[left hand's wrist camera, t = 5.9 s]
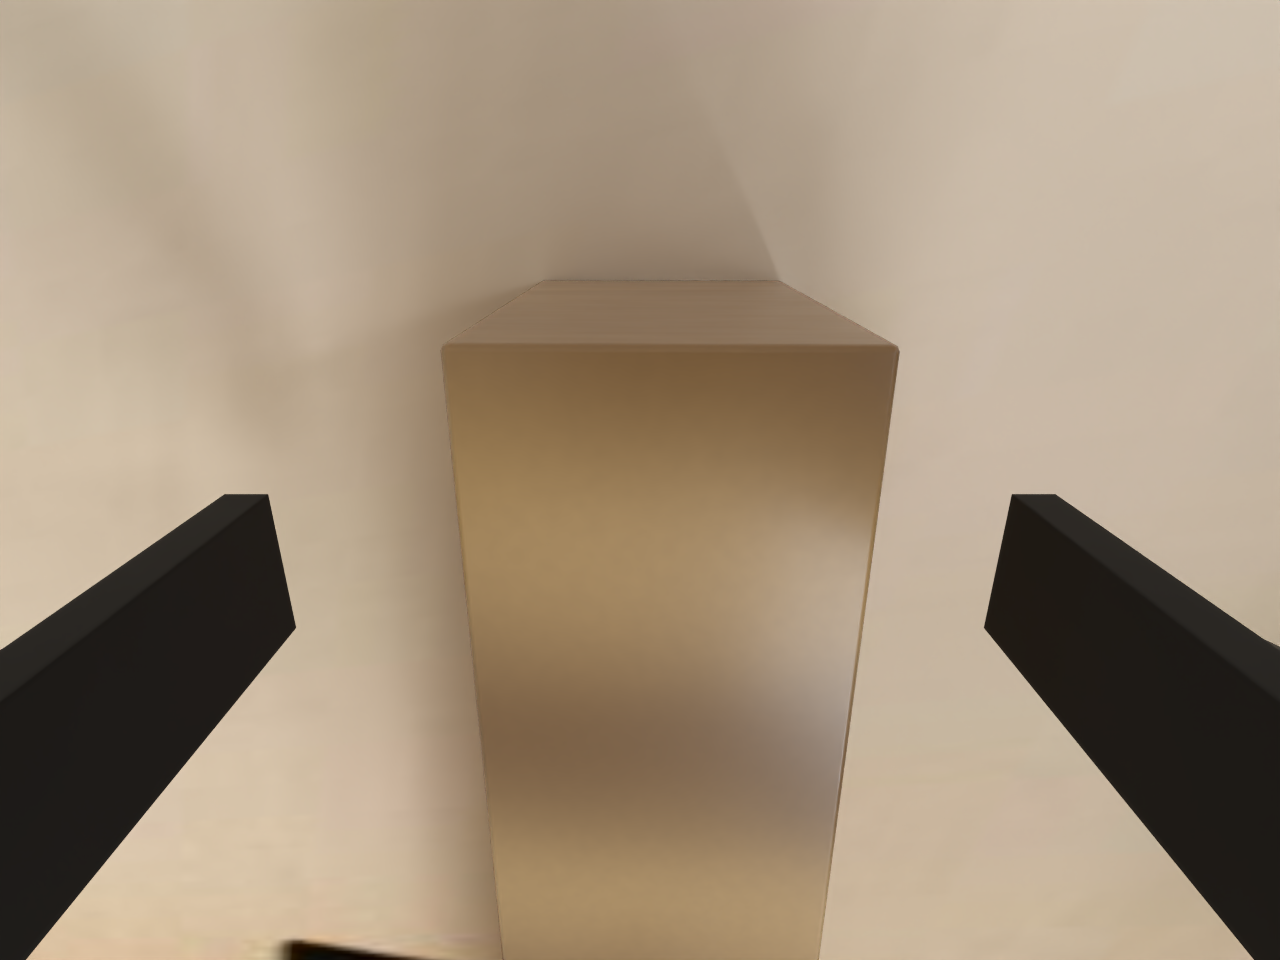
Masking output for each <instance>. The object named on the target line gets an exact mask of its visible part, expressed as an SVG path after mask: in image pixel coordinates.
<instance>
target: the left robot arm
mask: <svg viewBox="0 0 1280 960" xmlns="http://www.w3.org/2000/svg"><path fill="white" fill-rule="evenodd" d="M295 628H296V625H295V621H294V616H293V611H292V606H291V601H290V597H289V592H288V587H287V582H286V578H285V573H284V568H283V563H282V559H281V554H280V549H279V544H278V539H277V535H276V530H275V525H274V520H273V516H272V511H271V506H270V501H269V497H268V494H224V495H223V496H222V497H220V498H219V499H217V500H216V501H214V502H213V503H211V504H210V505H209V506H207V507H206V508H204V509H203V510H201V511H200V512H199V513H197V514H196V515H194V516H193V517H191V518H190V519H188V520H187V521H186V522H184V523H183V524H181V525H180V526H178V527H177V528H176V529H174V530H173V531H171V532H170V533H168V534H167V535H165V536H164V537H163V538H161V539H160V540H158V541H157V542H155V543H154V544H153V545H151V546H150V547H148V548H147V549H145V550H144V551H142V552H141V553H140V554H138V555H137V556H135V557H134V558H132V559H131V560H130V561H128V562H127V563H125V564H124V565H122V566H121V567H120V568H118V569H117V570H115V571H114V572H112V573H111V574H109V575H108V576H107V577H105V578H104V579H102V580H101V581H99V582H98V583H97V584H95V585H94V586H92V587H91V588H89V589H88V590H86V591H85V592H84V593H82V594H81V595H79V596H78V597H76V598H75V599H74V600H72V601H71V602H69V603H68V604H66V605H65V606H63V607H62V608H61V609H59V610H58V611H56V612H55V613H53V614H52V615H51V616H49V617H48V618H46V619H45V620H43V621H42V622H40V623H39V624H38V625H36V626H35V627H33V628H32V629H30V630H29V631H28V632H26V633H25V634H23V635H22V636H20V637H19V638H17V639H16V640H15V641H13V642H12V643H10V644H9V645H7V646H6V647H5V648H3V649H1V650H0V960H26V959H27V958H28V956H29V955H30V954H31V953H32V952H33V950H34V949H35V948H36V947H37V945H38V944H39V943H40V942H41V940H42V939H43V938H44V937H45V936H46V934H47V933H48V932H49V931H50V929H51V928H52V927H53V926H54V924H55V923H56V922H57V921H58V920H59V918H60V917H61V916H62V915H63V913H64V912H65V911H66V910H67V909H68V907H69V906H70V905H71V904H72V902H73V901H74V900H75V899H76V897H77V896H78V895H79V894H80V893H81V891H82V890H83V889H84V888H85V886H86V885H87V884H88V883H89V881H90V880H91V879H92V878H93V877H94V875H95V874H96V873H97V872H98V870H99V869H100V868H101V867H102V866H103V864H104V863H105V862H106V861H107V859H108V858H109V857H110V856H111V854H112V853H113V852H114V851H115V850H116V848H117V847H118V846H119V845H120V843H121V842H122V841H123V840H124V839H125V837H126V836H127V835H128V834H129V832H130V831H131V830H132V829H133V827H134V826H135V825H136V824H137V823H138V821H139V820H140V819H141V818H142V816H143V815H144V814H145V813H146V811H147V810H148V809H149V808H150V807H151V805H152V804H153V803H154V802H155V800H156V799H157V798H158V797H159V796H160V794H161V793H162V792H163V791H164V789H165V788H166V787H167V786H168V784H169V783H170V782H171V781H172V780H173V778H174V777H175V776H176V775H177V773H178V772H179V771H180V770H181V768H182V767H183V766H184V765H185V764H186V762H187V761H188V760H189V759H190V757H191V756H192V755H193V754H194V753H195V751H196V750H197V749H198V748H199V746H200V745H201V744H202V743H203V741H204V740H205V739H206V738H207V737H208V735H209V734H210V733H211V732H212V730H213V729H214V728H215V727H216V725H217V724H218V723H219V722H220V721H221V719H222V718H223V717H224V716H225V714H226V713H227V712H228V711H229V710H230V708H231V707H232V706H233V705H234V703H235V702H236V701H237V700H238V698H239V697H240V696H241V695H242V694H243V692H244V691H245V690H246V689H247V687H248V686H249V685H250V684H251V682H252V681H253V680H254V679H255V678H256V676H257V675H258V674H259V673H260V671H261V670H262V669H263V668H264V667H265V665H266V664H267V663H268V662H269V660H270V659H271V658H272V657H273V655H274V654H275V653H276V652H277V651H278V649H279V648H280V647H281V646H282V644H283V643H284V642H285V641H286V640H287V638H288V637H289V636H290V635H291V633H292V632H293V631H294V630H295ZM984 628H985V630H986V631H987V632H988V633H989V635H990V636H991V637H992V638H993V640H994V641H995V642H996V643H997V644H998V646H999V647H1000V648H1001V649H1002V651H1003V652H1004V653H1005V654H1006V655H1007V657H1008V658H1009V659H1010V660H1011V662H1012V663H1013V664H1014V665H1015V667H1016V668H1017V669H1018V670H1019V671H1020V673H1021V674H1022V675H1023V676H1024V678H1025V679H1026V680H1027V681H1028V683H1029V684H1030V685H1031V686H1032V687H1033V689H1034V690H1035V691H1036V692H1037V694H1038V695H1039V696H1040V697H1041V698H1042V700H1043V701H1044V702H1045V703H1046V705H1047V706H1048V707H1049V708H1050V710H1051V711H1052V712H1053V713H1054V714H1055V716H1056V717H1057V718H1058V719H1059V721H1060V722H1061V723H1062V724H1063V725H1064V727H1065V728H1066V729H1067V730H1068V732H1069V733H1070V734H1071V735H1072V737H1073V738H1074V739H1075V740H1076V741H1077V743H1078V744H1079V745H1080V746H1081V748H1082V749H1083V750H1084V751H1085V753H1086V754H1087V755H1088V756H1089V757H1090V759H1091V760H1092V761H1093V762H1094V764H1095V765H1096V766H1097V767H1098V768H1099V770H1100V771H1101V772H1102V773H1103V775H1104V776H1105V777H1106V778H1107V780H1108V781H1109V782H1110V783H1111V784H1112V786H1113V787H1114V788H1115V789H1116V791H1117V792H1118V793H1119V794H1120V796H1121V797H1122V798H1123V799H1124V800H1125V802H1126V803H1127V804H1128V805H1129V807H1130V808H1131V809H1132V810H1133V811H1134V813H1135V814H1136V815H1137V816H1138V818H1139V819H1140V820H1141V821H1142V823H1143V824H1144V825H1145V826H1146V827H1147V829H1148V830H1149V831H1150V832H1151V834H1152V835H1153V836H1154V837H1155V839H1156V840H1157V841H1158V842H1159V843H1160V845H1161V846H1162V847H1163V848H1164V850H1165V851H1166V852H1167V853H1168V854H1169V856H1170V857H1171V858H1172V859H1173V861H1174V862H1175V863H1176V864H1177V866H1178V867H1179V868H1180V869H1181V870H1182V872H1183V873H1184V874H1185V875H1186V877H1187V878H1188V879H1189V880H1190V881H1191V883H1192V884H1193V885H1194V886H1195V888H1196V889H1197V890H1198V891H1199V893H1200V894H1201V895H1202V896H1203V897H1204V899H1205V900H1206V901H1207V902H1208V904H1209V905H1210V906H1211V907H1212V909H1213V910H1214V911H1215V912H1216V913H1217V915H1218V916H1219V917H1220V918H1221V920H1222V921H1223V922H1224V923H1225V924H1226V926H1227V927H1228V928H1229V929H1230V931H1231V932H1232V933H1233V934H1234V936H1235V937H1236V938H1237V939H1238V940H1239V942H1240V943H1241V944H1242V945H1243V947H1244V948H1245V949H1246V950H1247V952H1248V953H1249V954H1250V955H1251V956H1252V958H1253V959H1254V960H1280V647H1279V646H1277V645H1275V644H1273V643H1271V642H1269V641H1266V640H1264V639H1263V638H1261V637H1260V636H1258V635H1257V634H1255V633H1254V632H1252V631H1251V630H1250V629H1248V628H1247V627H1245V626H1244V625H1242V624H1241V623H1240V622H1238V621H1237V620H1235V619H1234V618H1232V617H1231V616H1229V615H1228V614H1227V613H1225V612H1224V611H1222V610H1221V609H1219V608H1218V607H1217V606H1215V605H1214V604H1212V603H1211V602H1209V601H1208V600H1206V599H1205V598H1204V597H1202V596H1201V595H1199V594H1198V593H1196V592H1195V591H1194V590H1192V589H1191V588H1189V587H1188V586H1186V585H1185V584H1183V583H1182V582H1181V581H1179V580H1178V579H1176V578H1175V577H1173V576H1172V575H1171V574H1169V573H1168V572H1166V571H1165V570H1163V569H1162V568H1160V567H1159V566H1158V565H1156V564H1155V563H1153V562H1152V561H1150V560H1149V559H1148V558H1146V557H1145V556H1143V555H1142V554H1140V553H1139V552H1138V551H1136V550H1135V549H1133V548H1132V547H1130V546H1129V545H1127V544H1126V543H1125V542H1123V541H1122V540H1120V539H1119V538H1117V537H1116V536H1115V535H1113V534H1112V533H1110V532H1109V531H1107V530H1106V529H1104V528H1103V527H1102V526H1100V525H1099V524H1097V523H1096V522H1094V521H1093V520H1092V519H1090V518H1089V517H1087V516H1086V515H1084V514H1083V513H1081V512H1080V511H1079V510H1077V509H1076V508H1074V507H1073V506H1071V505H1070V504H1069V503H1067V502H1066V501H1064V500H1063V499H1061V498H1060V497H1058V496H1057V495H1056V494H1012V497H1011V501H1010V506H1009V511H1008V516H1007V520H1006V525H1005V530H1004V535H1003V539H1002V544H1001V549H1000V554H999V559H998V563H997V568H996V573H995V578H994V582H993V587H992V592H991V597H990V601H989V606H988V611H987V616H986V621H985V625H984Z"/></svg>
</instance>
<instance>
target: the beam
mask: <svg viewBox="0 0 1280 960" xmlns="http://www.w3.org/2000/svg"><path fill="white" fill-rule="evenodd" d="M441 358H442V368H443V378H444V387H445V397H446V407H447V417H448V427H449V436H450V446H451V456H452V466H453V476H454V485H455V495H456V505H457V515H458V525H459V534H460V544H461V554H462V564H463V574H464V583H465V593H466V603H467V613H468V623H469V633H470V642H471V652H472V662H473V672H474V682H475V691H476V701H477V711H478V721H479V731H480V740H481V750H482V760H483V770H484V780H485V789H486V799H487V809H488V819H489V829H490V838H491V848H492V858H493V868H494V878H495V887H496V897H497V907H498V917H499V927H500V936H501V946H502V956H503V960H819V953H820V946H821V938H822V931H823V923H824V916H825V908H826V901H827V893H828V886H829V878H830V871H831V863H832V856H833V848H834V841H835V833H836V826H837V818H838V811H839V803H840V795H841V788H842V780H843V773H844V765H845V758H846V750H847V743H848V735H849V728H850V720H851V713H852V705H853V698H854V690H855V683H856V675H857V668H858V660H859V653H860V645H861V638H862V630H863V623H864V615H865V608H866V600H867V593H868V585H869V578H870V570H871V563H872V555H873V548H874V540H875V533H876V525H877V518H878V510H879V503H880V495H881V488H882V480H883V473H884V465H885V458H886V450H887V443H888V435H889V428H890V420H891V413H892V405H893V398H894V390H895V382H896V375H897V367H898V360H899V349H898V346H896V345H894V344H892V343H891V342H889V341H887V340H885V339H883V338H882V337H880V336H878V335H876V334H874V333H873V332H871V331H869V330H867V329H865V328H864V327H862V326H860V325H858V324H856V323H855V322H853V321H851V320H849V319H847V318H846V317H844V316H842V315H840V314H838V313H837V312H835V311H833V310H831V309H829V308H828V307H826V306H824V305H822V304H820V303H819V302H817V301H815V300H813V299H811V298H810V297H808V296H806V295H804V294H802V293H801V292H799V291H797V290H795V289H793V288H792V287H790V286H788V285H786V284H784V283H783V282H780V281H554V280H544V281H542V282H540V283H539V284H537V285H535V286H534V287H532V288H531V289H529V290H528V291H526V292H525V293H523V294H521V295H520V296H518V297H517V298H515V299H514V300H512V301H511V302H509V303H507V304H506V305H504V306H503V307H501V308H500V309H498V310H497V311H495V312H493V313H492V314H490V315H489V316H487V317H486V318H484V319H482V320H481V321H479V322H478V323H476V324H475V325H473V326H472V327H470V328H468V329H467V330H465V331H464V332H462V333H461V334H459V335H458V336H456V337H454V338H453V339H451V340H450V341H448V342H447V343H445V344H444V345H442V348H441Z"/></svg>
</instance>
